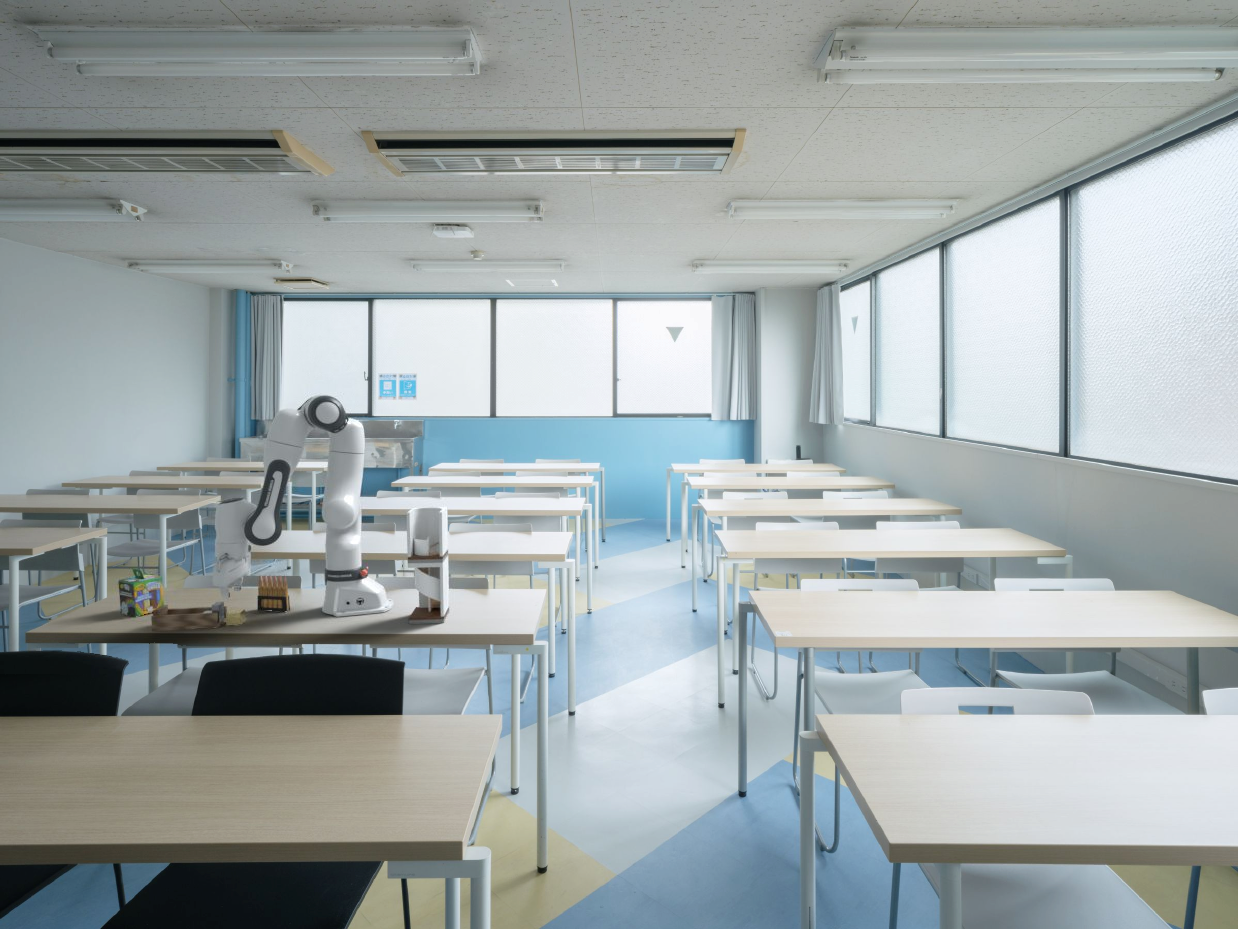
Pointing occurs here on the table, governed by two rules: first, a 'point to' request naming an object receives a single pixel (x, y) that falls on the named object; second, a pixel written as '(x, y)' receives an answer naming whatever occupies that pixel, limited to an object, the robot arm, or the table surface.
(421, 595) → the spiral staircase model
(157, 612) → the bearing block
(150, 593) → the chalk box
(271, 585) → the ammunition clip
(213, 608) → the grey metal block
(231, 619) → the spacer
